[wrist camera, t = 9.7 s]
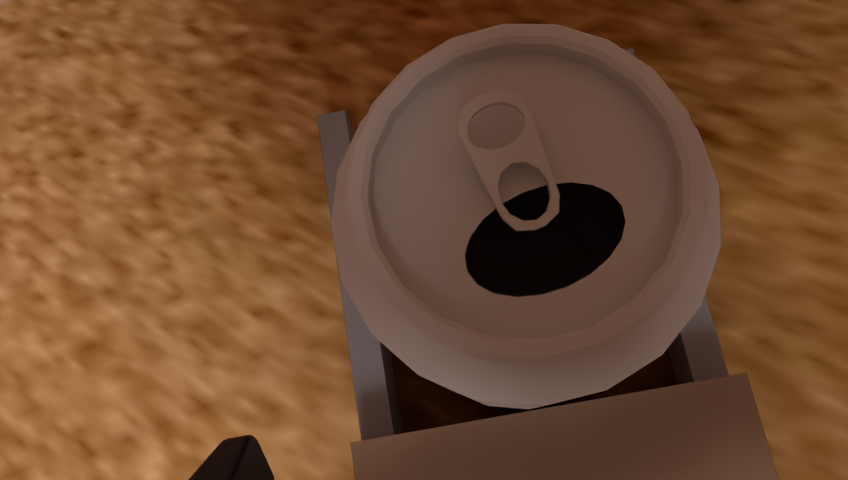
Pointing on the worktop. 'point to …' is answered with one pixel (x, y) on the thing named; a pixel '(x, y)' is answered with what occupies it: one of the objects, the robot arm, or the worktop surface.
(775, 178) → the worktop surface
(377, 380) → the guide rails
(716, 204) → the can
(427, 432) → the stop block
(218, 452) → the robot arm
